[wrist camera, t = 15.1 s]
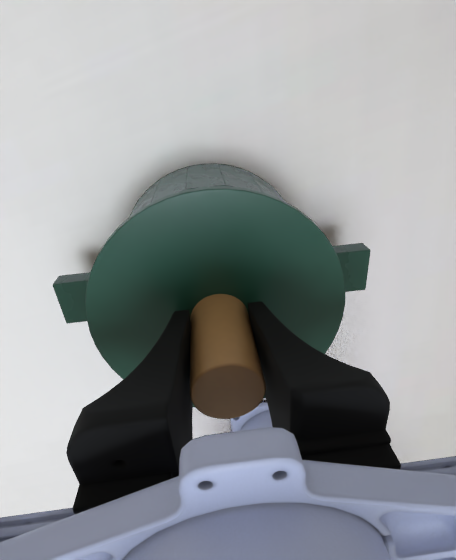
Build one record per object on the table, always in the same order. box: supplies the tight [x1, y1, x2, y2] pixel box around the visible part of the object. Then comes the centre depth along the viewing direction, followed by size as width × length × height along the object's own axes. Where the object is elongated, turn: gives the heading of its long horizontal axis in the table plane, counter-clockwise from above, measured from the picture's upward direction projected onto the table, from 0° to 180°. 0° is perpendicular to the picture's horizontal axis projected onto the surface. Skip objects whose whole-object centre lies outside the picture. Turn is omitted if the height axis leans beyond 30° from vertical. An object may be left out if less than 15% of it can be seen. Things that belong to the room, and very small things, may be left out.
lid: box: [85, 186, 345, 419], centre depth 14 cm, size 12×12×6 cm
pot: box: [53, 164, 370, 323], centre depth 20 cm, size 11×16×5 cm
